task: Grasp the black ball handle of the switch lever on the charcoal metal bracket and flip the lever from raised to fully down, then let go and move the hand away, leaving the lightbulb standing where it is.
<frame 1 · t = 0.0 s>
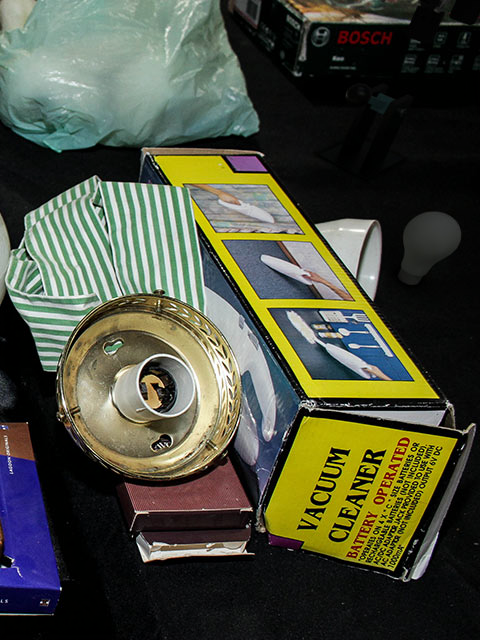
hand: (439, 30, 111), 26 cm above the table, tool pointing down, fingers open, 9 cm apart
switch bracket: (358, 163, 135), on the table
switch lever: (371, 100, 125), point 12 cm above the table, hinge at 25.0°
lightbulb: (404, 286, 114), on the table
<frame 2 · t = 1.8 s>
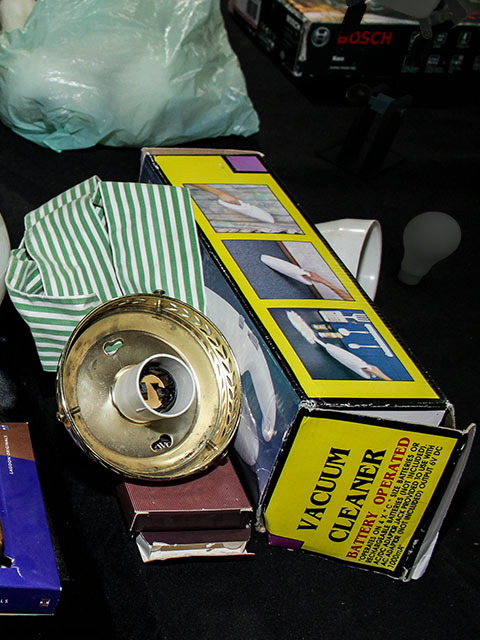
hand: (379, 48, 117), 21 cm above the table, tool pointing down, fingers open, 9 cm apart
nothing on the table moved.
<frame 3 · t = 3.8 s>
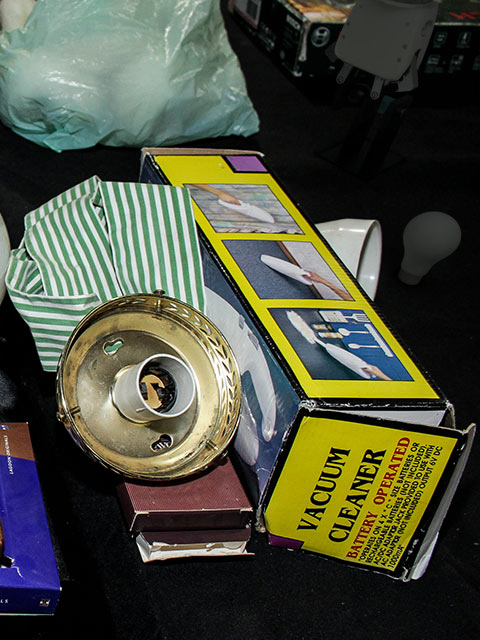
hand: (351, 113, 124), 11 cm above the table, tool pointing down, fingers closed on switch lever, 3 cm apart
switch lever: (371, 100, 125), point 12 cm above the table, hinge at 25.0°, touching gripper
everything else where it was.
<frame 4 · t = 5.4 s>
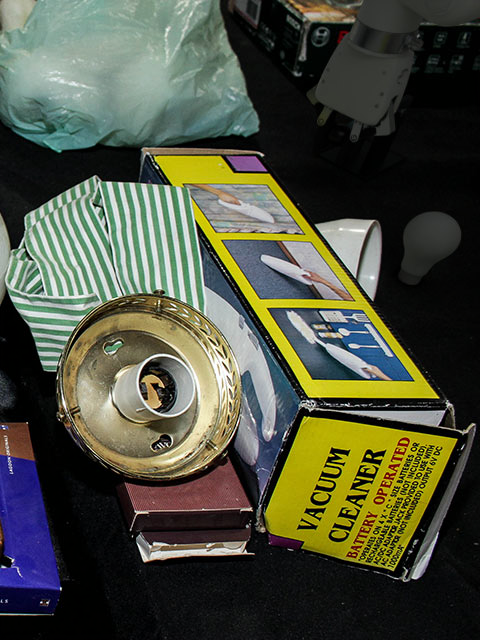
hand: (331, 153, 128), 5 cm above the table, tool pointing down, fingers closed on switch lever, 3 cm apart
switch lever: (361, 120, 127), point 9 cm above the table, hinge at -11.0°, touching gripper
everything else where it was.
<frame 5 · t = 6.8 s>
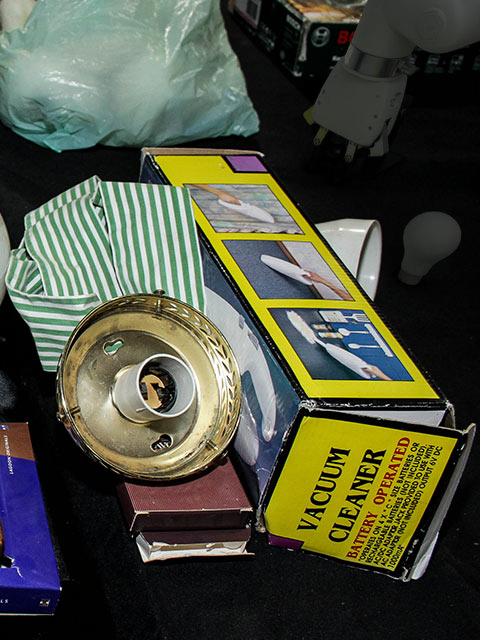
hand: (327, 172, 131), 1 cm above the table, tool pointing down, fingers closed on switch lever, 3 cm apart
switch lever: (360, 129, 129), point 7 cm above the table, hinge at -31.9°, touching gripper
everything else where it was.
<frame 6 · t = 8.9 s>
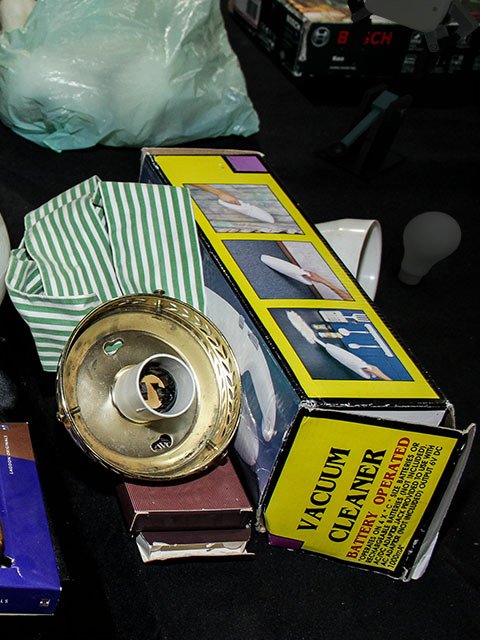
hand: (385, 62, 117), 20 cm above the table, tool pointing down, fingers open, 9 cm apart
switch lever: (360, 129, 129), point 7 cm above the table, hinge at -30.5°
everything else where it was.
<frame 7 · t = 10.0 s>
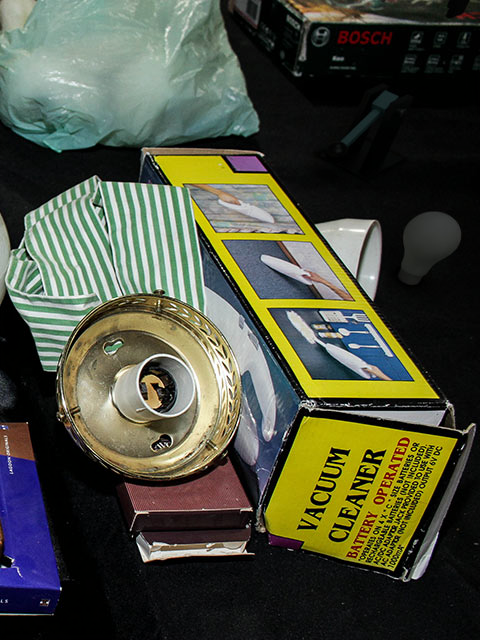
nothing on the table moved.
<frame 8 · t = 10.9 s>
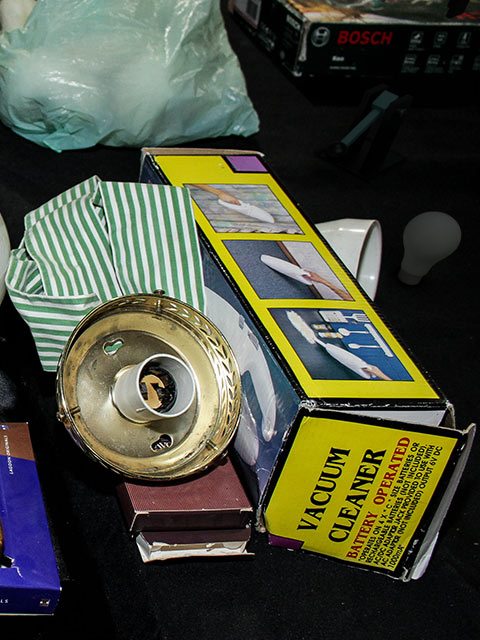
nothing on the table moved.
at the end: switch lever at -30° (first picture: +25°); lightbulb moved 0.2 cm from its start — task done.
